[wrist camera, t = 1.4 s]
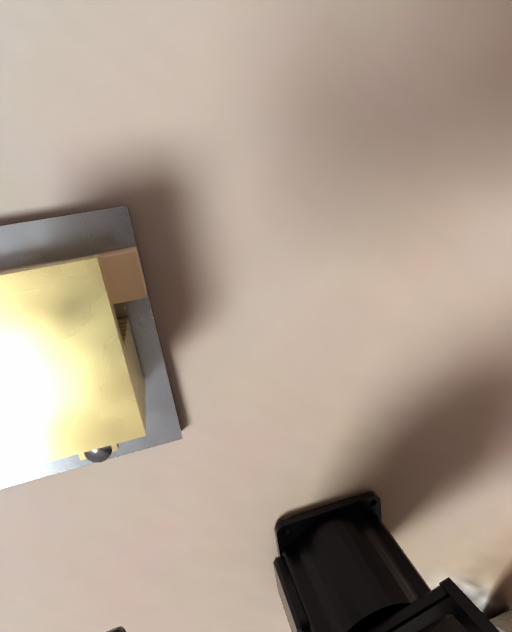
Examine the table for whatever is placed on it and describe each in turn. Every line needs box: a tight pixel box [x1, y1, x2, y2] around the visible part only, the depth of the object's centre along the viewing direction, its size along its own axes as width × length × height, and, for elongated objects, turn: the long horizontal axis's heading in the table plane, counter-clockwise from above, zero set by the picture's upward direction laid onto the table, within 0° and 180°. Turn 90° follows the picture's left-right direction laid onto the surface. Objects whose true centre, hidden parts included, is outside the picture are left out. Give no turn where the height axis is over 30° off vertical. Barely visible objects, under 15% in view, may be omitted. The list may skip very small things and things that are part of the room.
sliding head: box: [0, 254, 146, 468], centre depth 15 cm, size 4×8×4 cm, turn 8°
